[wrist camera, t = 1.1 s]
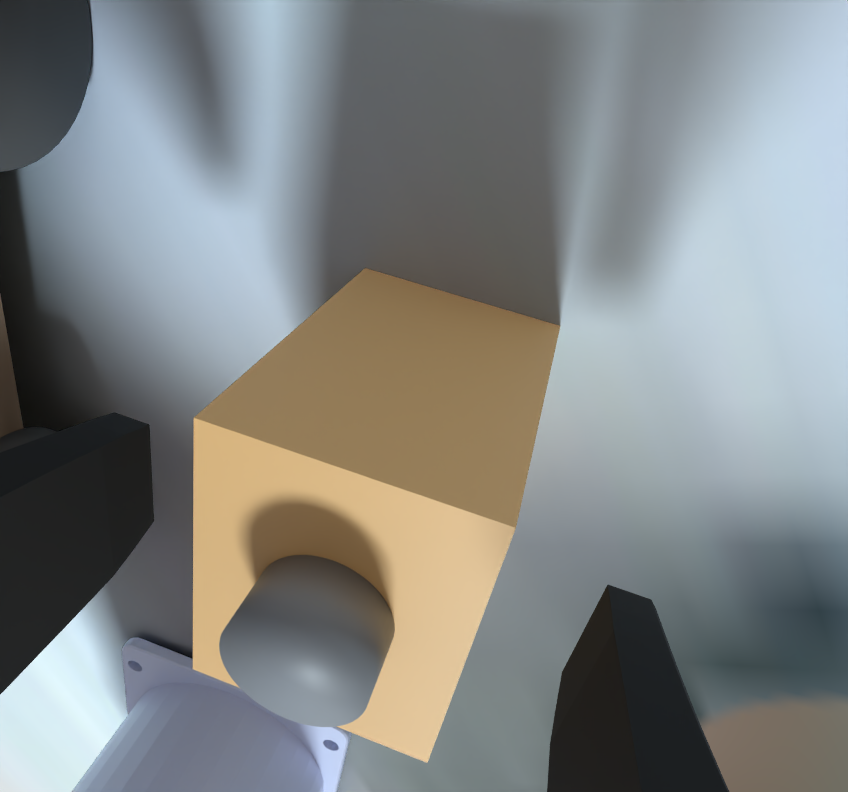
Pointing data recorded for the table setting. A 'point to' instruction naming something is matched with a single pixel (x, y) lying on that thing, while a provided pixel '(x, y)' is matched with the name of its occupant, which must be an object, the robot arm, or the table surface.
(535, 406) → the tan block with knob
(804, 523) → the table surface
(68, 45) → the chassis
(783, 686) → the table surface
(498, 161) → the table surface
